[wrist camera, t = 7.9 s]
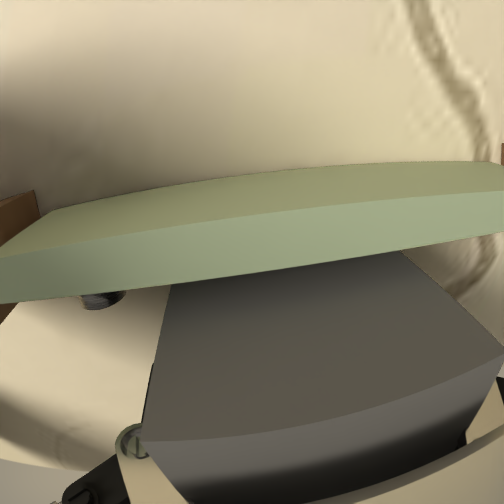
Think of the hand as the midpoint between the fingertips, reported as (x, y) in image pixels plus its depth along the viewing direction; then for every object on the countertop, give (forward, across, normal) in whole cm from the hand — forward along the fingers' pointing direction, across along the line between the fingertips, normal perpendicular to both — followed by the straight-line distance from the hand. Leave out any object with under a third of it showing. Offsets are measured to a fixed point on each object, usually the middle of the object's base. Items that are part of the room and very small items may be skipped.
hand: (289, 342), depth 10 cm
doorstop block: (+2, 0, 0) cm, 2 cm away
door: (+2, -1, -4) cm, 5 cm away
